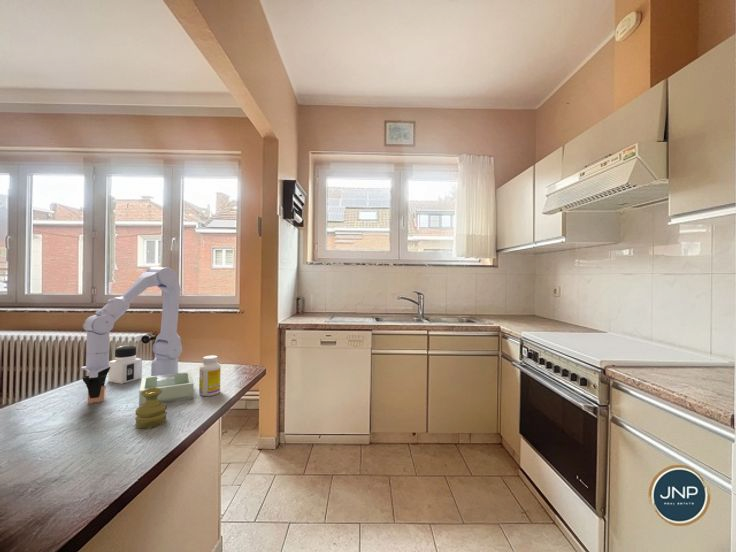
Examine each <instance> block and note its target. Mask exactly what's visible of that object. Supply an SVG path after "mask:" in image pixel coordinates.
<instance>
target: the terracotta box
mask: <svg viewBox="0 0 736 552" xmlns="http://www.w3.org/2000/svg"><path fill="white" fill-rule="evenodd" d="M106 388H107V386H106V385H104V386H102V387H101V392H100V395H99V397H98V398H90V396H89V392H88V391H87V404H94V403H93V402H95V403H100V401H102V402H105V400H106V397H107V396H106V394H107V393H106V392H107V391H106V390H107V389H106ZM104 399H105V400H104Z"/></svg>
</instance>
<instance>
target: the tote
mask: <svg viewBox="0 0 736 552" xmlns="http://www.w3.org/2000/svg"><path fill="white" fill-rule="evenodd" d="M167 375H174V378H175V382H174V385H170V386H163V387H157V377H159V376H167ZM167 375H158V376H144V377H143V376H142V378H141V382H140V387H139V393H138V394H139V396H138V397H139V398H138V401H139V402H138V407H139V406H141V405H142V404H143V403H144V402H145V401H146V398H145V397H144V396H142V395H141V393H142V392H143V391H144V390H146V389H148V388H149V387H156V388H160V389H162V393H161V394H159V395H158V397H157V399H158V400H160V401H161V402H163V403H165V404H166V403H172V402H177V401H184V400H191V398H192V399H194V391H195V390H194V389H195V388H194V385H195V384H194V379H193V376H192V372H191V371H184V372H183V371H182V372H178V373H175V374H167Z"/></svg>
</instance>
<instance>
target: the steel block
mask: <svg viewBox="0 0 736 552" xmlns="http://www.w3.org/2000/svg"><path fill="white" fill-rule="evenodd" d="M174 382H175V378H174V375H167V376H159V377H157V387H163V386H170V385H174Z"/></svg>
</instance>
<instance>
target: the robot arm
mask: <svg viewBox="0 0 736 552" xmlns="http://www.w3.org/2000/svg"><path fill="white" fill-rule="evenodd" d="M152 287H157V288H159V289H160V290H161V291H162V292H163V300H162V308H161V311H162V312H161V323H160V333H158V334H157V336H156V337H155V341H154V344H153V346H152V352H153V354H155V357H154V359H152V362H151V365H150V366H151V368H150V369H151V370H150V371H151V372H150V373H151V374H150V375H151V376H158V375H167V374H175V373H179V357H180V355H181V354H182V352H183V345H182V339H181V336H180V335H179V334H178V321H179V309H180V308H179V307H180V300H181V299H180V297H181V286H180V283H179V281H178V273H177V272H176V271H175V270H174V269H172V268H171V267H154V266H153V267H152V266H151V267H149V268H147V269H146V271H144V272H142V273H141V275H140V276H139V277H138V279H137V280H136V281H134V283H133V284H132V285H131V286H130V287H129V288H128V289H126V291H124V293H122V295H121V296H115V297H113V298H109V299H107V301H106V302H107V303H106V304H105V305H104V306H103V307H102V308H101V309H100V310H97V311H95V312H94V313H95V314H93V315H90V316H89V317H87V318H86V319H85V321H84V323H83V324H82V328H83V329H84V330H85V331H86V351H85V354H86V355H85V356H86V357H85V366H81V367H80V370H81V371H82V370H83V371H84V370H85V371H86V372H88V375H84V376H82V381H83V382H84V384H85V386H86V388H87V393H88V392H89V396H90V398H98V397H99V395H100V392H101V387H102V386H105V383H106V378H107V377H108V376H107V375H108V371H109V370H110V367H109V361H110V359H109V358H110V332H111V331H112V330H113V329H114V326H115V322H116V321H118V320H119V318H120V317H122V316H123V315H124V314H125V313H126V312H127V311H128V310H129V309H130V304H131V302H132V301H134V300H135V299H136V298H138V296H139V295H141V294H142V293H143V292H145V291H146V290H147V289H148V288H152Z"/></svg>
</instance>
